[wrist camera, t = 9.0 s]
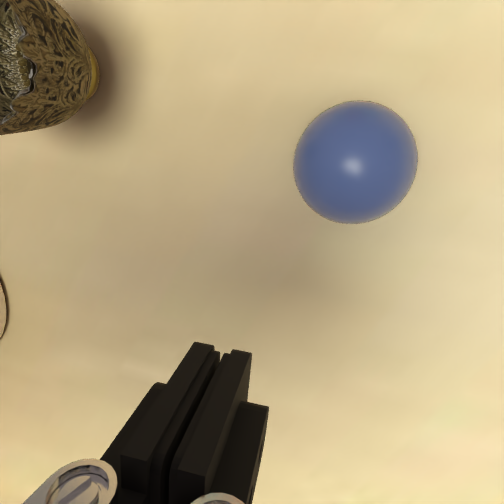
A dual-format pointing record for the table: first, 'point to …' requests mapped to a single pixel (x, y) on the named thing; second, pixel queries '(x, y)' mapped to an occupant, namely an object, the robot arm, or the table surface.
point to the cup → (42, 66)
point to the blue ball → (355, 162)
